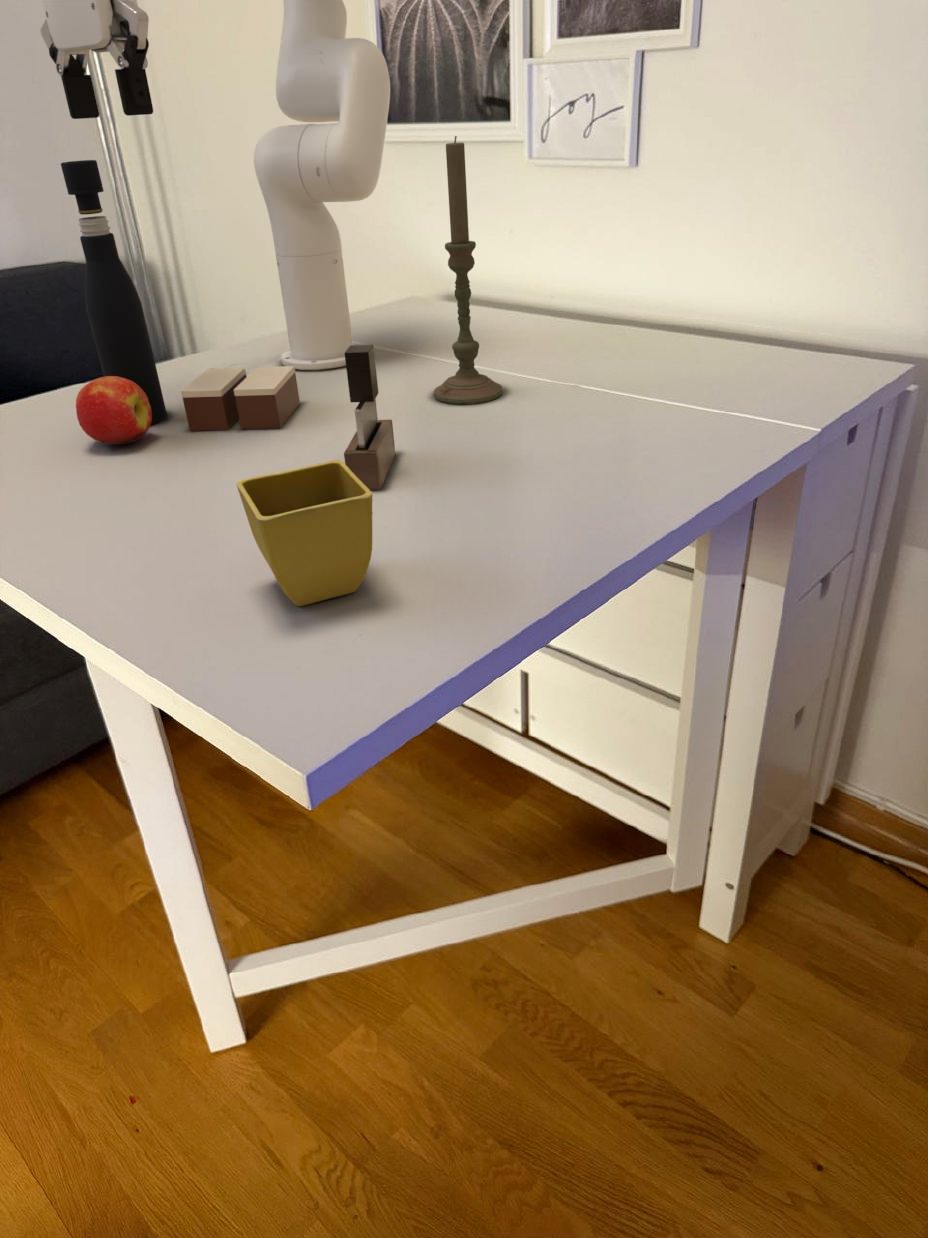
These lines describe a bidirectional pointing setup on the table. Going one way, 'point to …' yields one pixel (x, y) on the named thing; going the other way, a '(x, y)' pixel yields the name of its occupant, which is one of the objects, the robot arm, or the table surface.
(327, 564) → the flower pot
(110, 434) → the apple
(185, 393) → the cake
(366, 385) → the knife
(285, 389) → the cake slice
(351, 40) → the robot arm
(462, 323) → the candlestick holder
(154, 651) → the table surface
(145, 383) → the wine bottle
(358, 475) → the knife block
